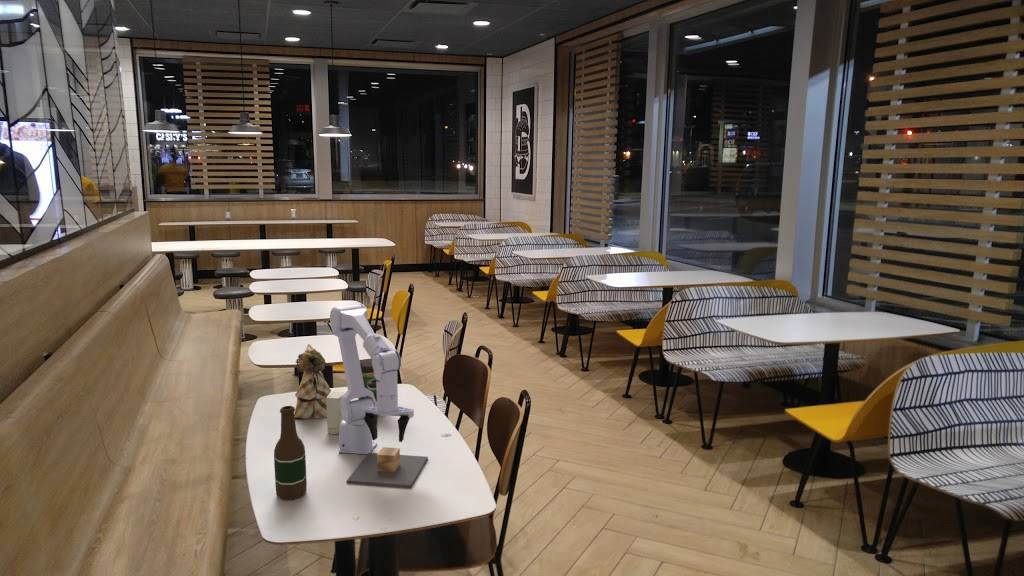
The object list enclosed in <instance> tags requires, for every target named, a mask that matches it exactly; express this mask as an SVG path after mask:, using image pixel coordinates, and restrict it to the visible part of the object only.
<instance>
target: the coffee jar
mask: <svg viewBox="0 0 1024 576" xmlns="http://www.w3.org/2000/svg"><path fill="white" fill-rule="evenodd" d="M359 361H360V366H361V371H362V377H363V382H364V387H365V388H366V389H368V390H370V391H372V392H373V394H374V397H375V400H376V402H377V385H376V378H375V376H374V369H373V366H372V359H371V358H370V359H362V360H360V359H359ZM359 399H364V397H360V398H357V400H359Z"/></svg>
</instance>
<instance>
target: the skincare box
mask: <svg viewBox="0 0 1024 576" xmlns="http://www.w3.org/2000/svg"><path fill="white" fill-rule="evenodd" d="M345 393H346V392H342V391H341V392H340V391H333V392H332V393H330V394H329V395H328V396H327V397H326V405H327V417H326V422H327V423H326V425H327V427H326V428H327V434H331V435H339V427H340V424H341V422H342V420H343V418H342V415H341V398H342V397H343V396H344V394H345Z"/></svg>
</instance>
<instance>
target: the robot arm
mask: <svg viewBox="0 0 1024 576" xmlns="http://www.w3.org/2000/svg"><path fill="white" fill-rule="evenodd" d="M368 319H369V317H368V309H367V307H366V306H365V304H363V303H359V304H353V305H344V306H333V307H332V308H331V310H330V314H329V321H330V327H331V331H332V335H333V336H335V337H337V338H338V343H339V349H340V354H341V361H342V365H343V370H344V376H345V381H346V388H347V391H346V392H344V393H345V394H344V396H343V397H342V398H341V415H342V418H343V420H342V422H341V424H340V427H339V434H338V440H339V443H338V444H339V445H338V446H339V449H338V452H339V453H344V454H357V455H358V454H360V455H367V454H368V453H372V451H373V450H374V448H375V447H376V446H377V445H378V442H376V440H377V439H378V417H379V416H380V417H387V416H388V417H389V416H392V417H399V418H398V419H397V426H398V442H399V443H402V442H403V441H404V440H405V433H406V428H407V427H408V423H409V421H410V419H412V418H414V415H415V409H414V408H409V407H403V406H399V404H398V403H399V402H398V400H399V398H398V397H399V395H398V371H399V370H400V369H401V367H402V358H401V356H400V353H399V351H398V350H397V349H394V348H393V347H391V348H390V347H389V345H388V344H387V343H386V341H385V340H384V338H383V337H382V335H380V334H379V333H375V331H374V330H373V328H372V326H371V324H370V323H369V321H368ZM357 335H358V336H359V337H360V339H362V340H363V342H362V347H363V348H364V350H365V351H366V353H367V355H368V356H369V357H370V359H372V366H373V369H374V376H375V378H376V385H377V402H376V400H375V397H374V394H373V392H372V391H370V390H368V389H366V388H365V387H364V382H363V377H362V371H361V366H360V356H359V351H358V346H357V341H356V336H357ZM360 397H364V399H359V400H358V398H360ZM354 399H355V400H354Z"/></svg>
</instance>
